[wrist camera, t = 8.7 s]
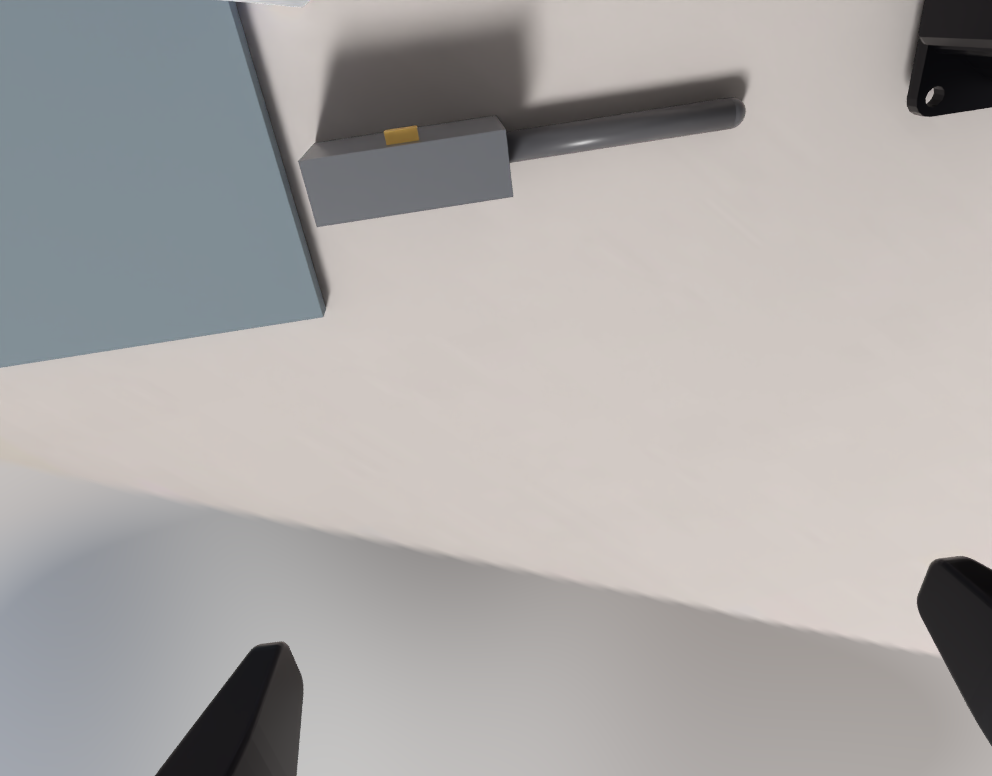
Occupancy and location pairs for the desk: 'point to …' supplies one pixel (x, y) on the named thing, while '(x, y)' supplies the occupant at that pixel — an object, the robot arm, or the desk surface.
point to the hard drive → (276, 2)
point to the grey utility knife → (473, 158)
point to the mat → (139, 181)
